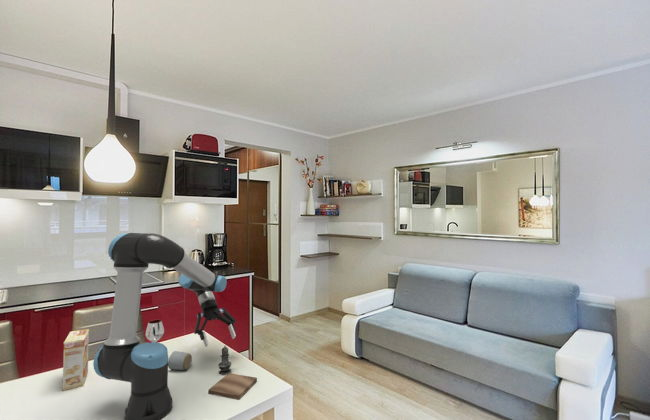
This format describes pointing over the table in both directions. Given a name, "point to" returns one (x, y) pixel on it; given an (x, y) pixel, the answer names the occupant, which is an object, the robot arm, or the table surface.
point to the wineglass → (154, 330)
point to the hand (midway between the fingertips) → (221, 341)
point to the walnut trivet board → (233, 386)
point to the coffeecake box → (75, 359)
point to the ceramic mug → (179, 360)
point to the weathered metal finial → (224, 362)
